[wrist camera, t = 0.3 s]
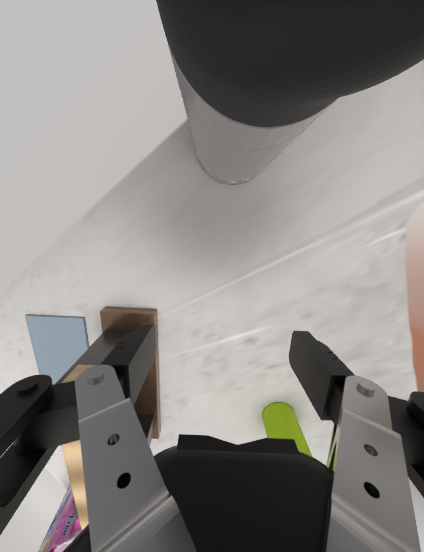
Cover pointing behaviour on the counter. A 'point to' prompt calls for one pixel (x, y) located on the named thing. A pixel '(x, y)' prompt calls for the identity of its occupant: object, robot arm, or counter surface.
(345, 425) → the robot arm
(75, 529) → the gum box
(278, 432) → the soap dispenser
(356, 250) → the counter surface
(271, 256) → the counter surface
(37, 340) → the slate mat
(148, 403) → the hook rack
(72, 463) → the oak rail
